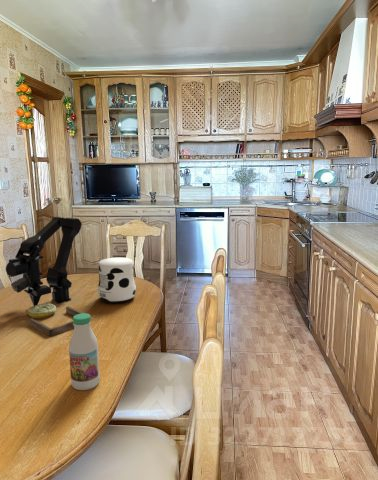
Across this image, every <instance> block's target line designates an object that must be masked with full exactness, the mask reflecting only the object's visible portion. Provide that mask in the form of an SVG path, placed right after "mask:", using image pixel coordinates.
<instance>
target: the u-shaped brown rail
mask: <svg viewBox="0 0 378 480" xmlns="http://www.w3.org/2000/svg"><path fill="white" fill-rule="evenodd" d="M65 311H66V312H65V313H66V314H69V315H71V316H73V317H74V316H75V315H77V314H82V313H83V312H82V311H80V310H77V309H76V308H73V307H71V306H69V305H68V306H66V307H65ZM28 325H29V326H30V327H33V328H35V329H36V330H37V331H38V332H39V331H40V332H42V333H43V334H45V335H47V336H48V337H50V338H51V337H53V336H56V335H58V334H62V333H64V332H66V331H69V330H72V329H73V330H74V325H73V320H71V321H69V322H65V323H62V324H59V325H57V326H55V327H49V326H47V325H46V324H43V323H41V322H40V321H38V320H37V319H35V318H32V317H29V318H28Z"/></svg>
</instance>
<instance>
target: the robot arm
mask: <svg viewBox="0 0 378 480" xmlns="http://www.w3.org/2000/svg"><path fill="white" fill-rule="evenodd" d="M82 225H83V224H82V222H81V220H80V218H75V217H74V218H73V217H62V216H53V217H52V218H51V220H50V221H49V222H48V223H47V224H45V226H44V227H43V228H41V229H40V230H39V231H38V232H37V233H36V234H34V235H32V236H30V237H28V238H26V239H24V240H23V241H21V243H20V246H19V248H18V250H17V253H16V255H15V258H12V259H11V258H10V259H8V263H7V264H6V267H5V272H6V273H7V275H8V277H11V278H12V277H17V276H20V275H22V277H21V278H18V279H16V280H15V281H13V282H12V283H10V286H11V288H12V290H13V291H14V292H16V293H18V294H19V293H21V292H24V293H26V294H27V295H29V298H30V300H31V303H32V305H33V306H35V305H39V303H40V300H41V297H42V296H44V295H45V296H46V295H49V294H51V298H52V299H51V301H52V302H55V303H57V304H63V303H65V302H68V301H71V300H72V298H70V290H69V289H71V288H72V285H73V284H72V282H71V281H70V280H69V279H68V271H67V264H68V260H69V257H70V253H71V250H72V246H73V244H74V239H75V238H76V237H77V235H78V234H79V233H80V230H81V229H82ZM60 228H61V232H62V238H61V241H60V245H59V248H58V251H57V252H58V253H57V255H56V259H55V263H54V265H53V266H52V267H49V268H48V269H47V273H46V275H45V277H46V279H45V280H46V283H47V284H48V285H46V284H44V282H43V281H42V279H41V276H42V275H43V272H41V268H40V259H43V258H44V256H43V255H42V254H40V253H41V251H42V250H43V249H44V248H45V243H46V242H47V241H48V240H49V239H50V238H51V237H52V236H53V235H54V234H55V233H57V231H58V230H60Z"/></svg>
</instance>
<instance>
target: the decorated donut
mask: <svg viewBox="0 0 378 480" xmlns="http://www.w3.org/2000/svg"><path fill="white" fill-rule="evenodd" d="M56 312H57V306H56V305H55V304H52V303H49V302H48V303H40V304H39V303H38V305H35V306H34V305H33V306H30V307H29V308H28V309H27V314H28V316H29V318H32V319H34V320H37V319H38V320H41V319H46V318H49V317H51V316H52V315H54V314H56Z"/></svg>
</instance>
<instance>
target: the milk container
mask: <svg viewBox="0 0 378 480" xmlns="http://www.w3.org/2000/svg"><path fill="white" fill-rule="evenodd" d="M98 278H99V279H98V285H97V294H98V298H99V300H101V301H103V302H106V303H115V304H116V303H122V302H127V301H130V300H132V299H133V298H134V297H135V295H136V292H137V290H136V289H137V287H136V282H135V280H134V279H135V278H134V262H133V259H131V258H128V257H108V258H103V259H101V260H99V261H98Z"/></svg>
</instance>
